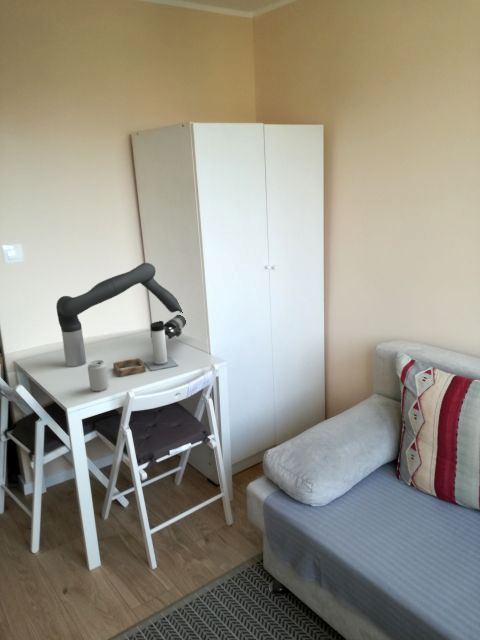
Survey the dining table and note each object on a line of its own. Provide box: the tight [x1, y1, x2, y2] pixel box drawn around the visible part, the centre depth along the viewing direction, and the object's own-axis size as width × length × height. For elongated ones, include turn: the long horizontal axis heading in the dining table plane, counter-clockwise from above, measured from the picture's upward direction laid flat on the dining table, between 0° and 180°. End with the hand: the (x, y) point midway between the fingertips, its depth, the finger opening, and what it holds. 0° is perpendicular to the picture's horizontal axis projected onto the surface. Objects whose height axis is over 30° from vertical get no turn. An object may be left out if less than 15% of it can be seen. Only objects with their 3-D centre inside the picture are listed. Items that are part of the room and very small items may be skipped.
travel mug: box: [150, 320, 168, 366], centre depth 239 cm, size 6×7×20 cm
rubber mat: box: [143, 356, 179, 372], centre depth 242 cm, size 13×13×1 cm
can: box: [87, 359, 110, 392], centre depth 215 cm, size 8×8×12 cm
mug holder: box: [112, 357, 147, 378], centre depth 235 cm, size 12×12×3 cm
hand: (160, 336), depth 240 cm, fingers open, 8 cm apart
